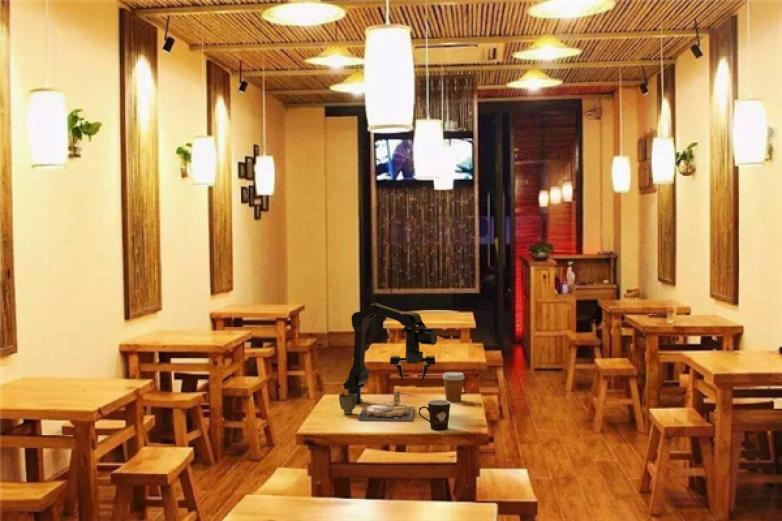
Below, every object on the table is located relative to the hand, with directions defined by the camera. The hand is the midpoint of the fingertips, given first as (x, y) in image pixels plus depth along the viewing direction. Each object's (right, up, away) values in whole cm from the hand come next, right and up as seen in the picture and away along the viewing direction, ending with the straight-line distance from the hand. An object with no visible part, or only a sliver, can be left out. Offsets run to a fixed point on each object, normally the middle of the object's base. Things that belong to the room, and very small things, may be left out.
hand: (412, 380), depth 353 cm
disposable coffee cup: (+18, -11, +16) cm, 27 cm away
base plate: (-11, -13, -9) cm, 19 cm away
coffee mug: (+8, -14, -31) cm, 35 cm away
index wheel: (-11, -12, -9) cm, 18 cm away
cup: (-27, -13, -6) cm, 30 cm away
